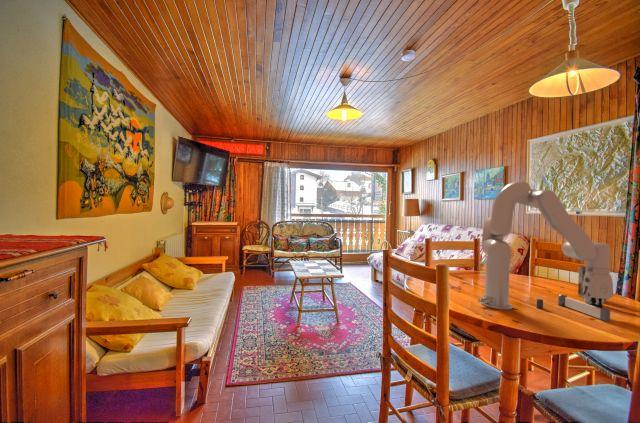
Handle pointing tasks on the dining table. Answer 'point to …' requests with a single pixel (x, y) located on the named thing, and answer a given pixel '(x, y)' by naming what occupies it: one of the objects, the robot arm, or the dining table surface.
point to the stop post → (539, 303)
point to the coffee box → (581, 281)
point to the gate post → (561, 300)
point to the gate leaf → (588, 309)
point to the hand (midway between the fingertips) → (596, 312)
